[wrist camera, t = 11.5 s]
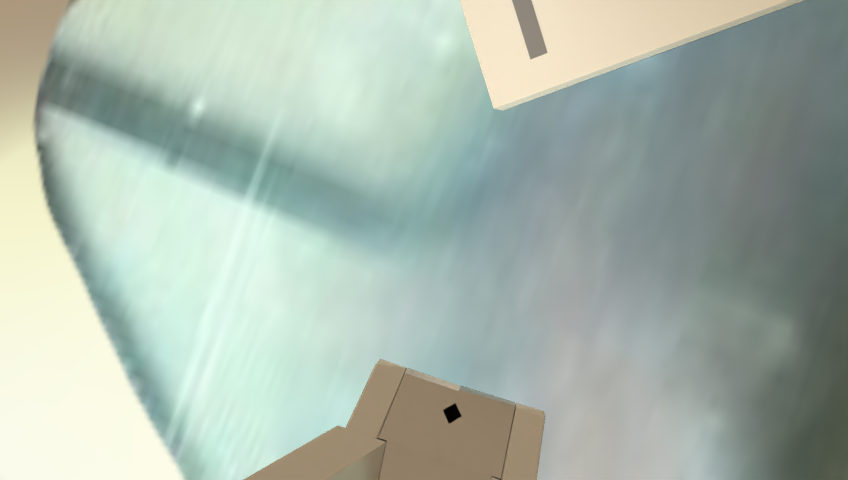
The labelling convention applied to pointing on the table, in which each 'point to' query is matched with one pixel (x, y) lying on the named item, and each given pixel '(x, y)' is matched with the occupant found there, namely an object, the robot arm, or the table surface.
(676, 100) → the table surface
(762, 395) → the table surface
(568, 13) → the switch base
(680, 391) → the table surface
